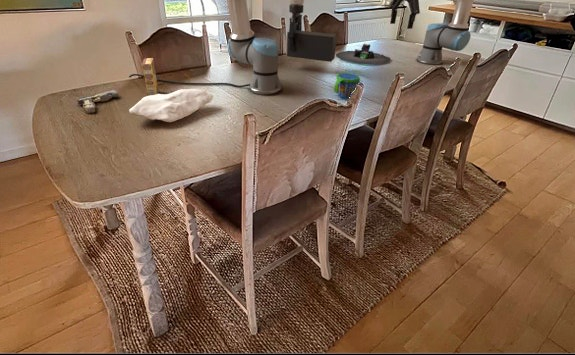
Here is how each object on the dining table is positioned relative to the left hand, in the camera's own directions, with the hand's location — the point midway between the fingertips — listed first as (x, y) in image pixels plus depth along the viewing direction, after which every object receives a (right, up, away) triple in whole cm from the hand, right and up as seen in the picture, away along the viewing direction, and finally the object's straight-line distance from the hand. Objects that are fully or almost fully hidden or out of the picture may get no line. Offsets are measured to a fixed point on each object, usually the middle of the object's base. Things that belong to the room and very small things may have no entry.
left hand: (294, 48), depth 205 cm
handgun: (-84, -41, -49) cm, 106 cm away
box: (+9, -5, -1) cm, 10 cm away
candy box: (-66, -35, -38) cm, 83 cm away
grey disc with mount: (+45, +5, +32) cm, 55 cm away
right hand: (+55, +6, -17) cm, 57 cm away
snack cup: (+24, -35, -32) cm, 52 cm away
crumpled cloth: (-51, -47, -55) cm, 89 cm away
